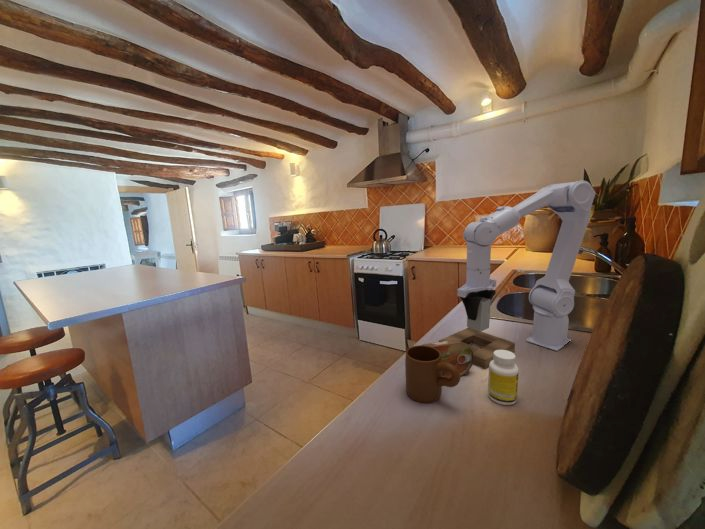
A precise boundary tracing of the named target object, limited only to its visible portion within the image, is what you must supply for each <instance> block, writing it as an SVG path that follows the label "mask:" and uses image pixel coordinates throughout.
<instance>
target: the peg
mask: <svg viewBox="0 0 705 529" xmlns="http://www.w3.org/2000/svg"><path fill="white" fill-rule="evenodd" d="M491 302H492V300H491V299H487V298H483V297H482V299H481V301H480V303H479V307H478V312H477V318H476V320H475V321H474V320H471V319H468V317H467V316H466V318H467V319H466V328H468V327H469V328H471V329H474V330H477V331H480V332H483V331H485V330H488V329H490V317H491V315H490V314H491Z"/></svg>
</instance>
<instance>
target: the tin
mask: <svg viewBox="0 0 705 529" xmlns="http://www.w3.org/2000/svg"><path fill="white" fill-rule="evenodd" d="M422 345H424V346H430V347H433V348H435V349H437V350H439V351H440V353H441V359H442V363H450V364H452V365H454V366H455V367H456V368H457V369H458V370H459V373H460V377H462V376H464V375H466V374H467V373H468V372H469V371H470V370H471V368H472V367H473V365H474V364H473V361H474V354H473V351H472V349H471V348H470V347H469V346H468V345H466V344H464V343H463V342H461V341H458V340H449V341H442V342H439V341H435V342H430V343H424V344H422ZM442 377H446V378H451V377H452V374H451V373H450V372H449V371H442Z"/></svg>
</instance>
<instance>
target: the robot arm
mask: <svg viewBox="0 0 705 529" xmlns="http://www.w3.org/2000/svg"><path fill="white" fill-rule="evenodd" d="M596 193H597V192H596V191H595V189H594V188H593V186H592V185H591V183H590V182H589V181H586V180H577V181H571V182H570V181H569V182H563V183H562V182H561V183H551V184H549V185H547V186H544V187H541V189H540V190H539V191H537V192H535V193H534V194H532V195H530V196H529V197H528V198H525V199H524V200H523V201H521V202H519V203H517V204H516V205H514V206H513V207H511V206H508V205H505V206H497V207H496V211H494V212H493V213H491V214H489V215H487V216H485V215H483V216H482V217H480V220H479V221H473V222H469V223H468V224H467V225H466V227H465V229H464V232H462V238H463V240H464V241H465V243H466V272H465V273H466V274H465V276H466V277H465V278H466V279H465V283H464V284H463V285H462V286H461V287H459V288H457V294H456V296H457V297H458V298H460V300H461V302H462V304H463V306H464V309H465V313H466V318H467V317H468V319H471V320H474V321H475V320H476V318H477V312H478V307H479V303H480V301H481V299H482V297H483V298H487V299H491V301H492V299H493V298H494V297H495V295H496V293H497V292H496V290H495V289H494V288H497V280H496V279H492V278H491V258H492V257H491V256H492V255H491V253H492V245H493V243H494V242H495V241H496V239H497V237H499V236H501V235H502V234H504V233H506V232H508V231H510V230H511V229H513V228H515V227H516V226H518V225H519V223H520V219H521V218H524V217H526V216H528V215H531V214H532V213H534V212H536V211H538V210H540V209H542V208H544V207H547V208H548V209H550V210H551V211H552V212H554V213H555V214H556V215H558V217H559V218H560V219H561V221H562V222H561V225H560V229H559V231H558V234H557V238H556V240H555V242H554V243H555V244H554V247H553V250H552V253H551V256H550V259H549V262H548V264H547V268H546V271H545V275H544V276H543V277H541V278H538V279H537V280H536V281H535V284H534V286H533V288H531V290H530V291H529V293H528V301H529V303H530V304H531V305H532V309H533V323H532V324H533V326H532V335H531V336H529V337H528V338H526V340H525V341H526V342H528V343H531V344H534V345H537V346H541V347H543V348H547V349H550V350H553V351H559V350H561V349H562V348H564V347H565V346H566V345H568V344H569V343H570V342H572V339H571V338H568V334H569V323H570V320H569V316H568V315H569V314H570V313H571V312H572V311H573V309H574V308H575V295H576V294H575V293H576V290H575V289H574V287H573V286H572V285H571V283H570V282H569V281H570V279H571V276H572V273H573V269H574V266H575V263H576V260H577V258H578V255H579V252H580V249H581V247H582V246H581V245H582V243H583V239H584V237H585V234H586V230H587V228H588V225H589V223H590V220H591V208H592V207H593V203H594V200H595V197H596ZM569 341H570V342H569ZM568 342H569V343H568ZM567 343H568V344H567ZM565 344H566V345H565ZM564 345H565V346H564Z"/></svg>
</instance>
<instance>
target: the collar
mask: <svg viewBox="0 0 705 529" xmlns="http://www.w3.org/2000/svg"><path fill="white" fill-rule="evenodd" d="M449 340H458V341H461V342H463V343H464V344H466V345H468V346H469V347H470V348H471V349H472V351H473V354H474V361H473V365H474V366H476V367H478V368H481V369H484V370H487V369H489V363H490V362H491V361H492V360H493V353H494V351H496V350H507V351H510V352H512V353H515V352H516V350H515V349H516V343H515V342H513V341H510V340H507V339H505V338H501V337H499V336H496V335H493V334H489V333H486V332H483V331H481V332H480V331H477V330H474V329H471V328H469V327H466V328H465V329H464V328H463V329H462V330H459V331H457V332H455V333H453V334H450V335H448V336H446V337H444V338H442V339H441V338H440V339H439V340H438V342H442V341H449ZM471 344H473V345H476V346H479V347H481V348H478V347H476V346H473V345H471Z"/></svg>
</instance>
